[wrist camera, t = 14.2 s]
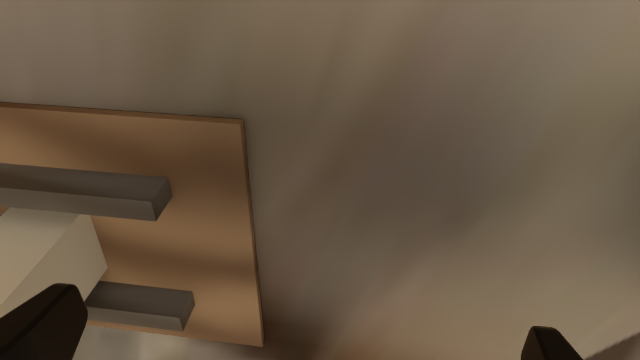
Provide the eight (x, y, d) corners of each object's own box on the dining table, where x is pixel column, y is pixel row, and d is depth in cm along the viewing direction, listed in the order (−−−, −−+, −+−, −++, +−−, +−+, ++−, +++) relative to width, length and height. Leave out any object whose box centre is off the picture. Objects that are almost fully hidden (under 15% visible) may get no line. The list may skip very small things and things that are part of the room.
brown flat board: (264, 340, 31) (254, 374, 29) (-44, 302, 34) (-72, 331, 32) (243, 119, 22) (226, 147, 20) (-176, 89, 25) (-228, 111, 23)
